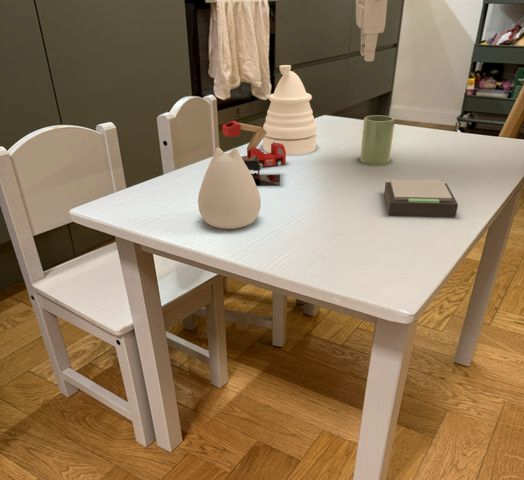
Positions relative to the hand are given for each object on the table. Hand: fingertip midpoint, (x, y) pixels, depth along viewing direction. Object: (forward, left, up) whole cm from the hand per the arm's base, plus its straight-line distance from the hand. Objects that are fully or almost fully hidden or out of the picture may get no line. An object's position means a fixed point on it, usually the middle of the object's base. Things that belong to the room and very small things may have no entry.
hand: (366, 58), depth 96 cm
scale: (-10, +23, -21) cm, 33 cm away
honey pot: (+16, -15, -21) cm, 30 cm away
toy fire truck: (+22, +1, -21) cm, 30 cm away
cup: (-4, -5, -21) cm, 22 cm away
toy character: (+22, +33, -21) cm, 45 cm away
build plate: (+22, +11, -21) cm, 32 cm away
